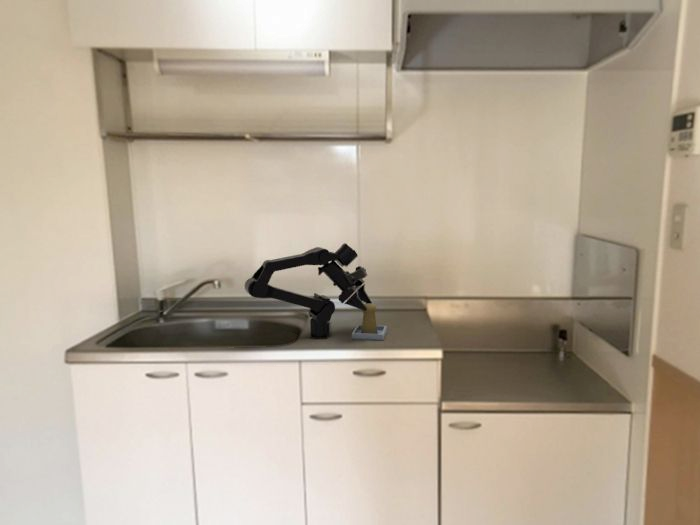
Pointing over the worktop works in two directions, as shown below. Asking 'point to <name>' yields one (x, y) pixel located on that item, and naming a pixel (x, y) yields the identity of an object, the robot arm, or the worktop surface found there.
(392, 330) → the worktop surface
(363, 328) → the cork
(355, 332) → the tray
